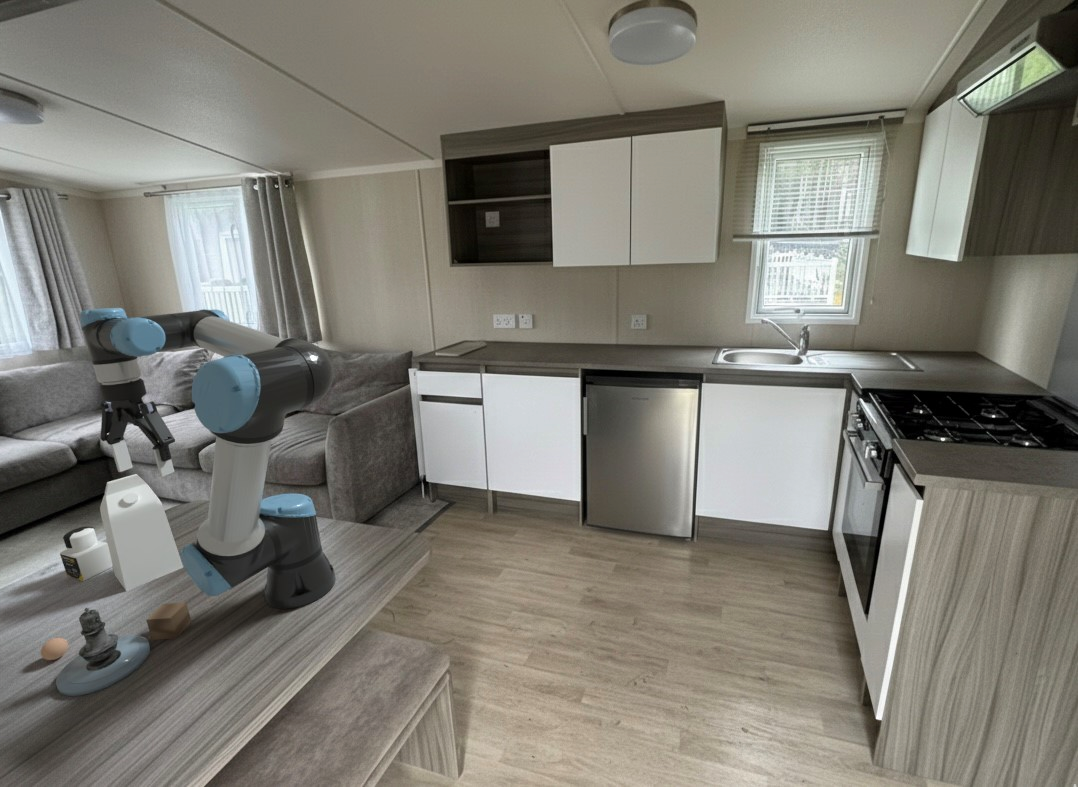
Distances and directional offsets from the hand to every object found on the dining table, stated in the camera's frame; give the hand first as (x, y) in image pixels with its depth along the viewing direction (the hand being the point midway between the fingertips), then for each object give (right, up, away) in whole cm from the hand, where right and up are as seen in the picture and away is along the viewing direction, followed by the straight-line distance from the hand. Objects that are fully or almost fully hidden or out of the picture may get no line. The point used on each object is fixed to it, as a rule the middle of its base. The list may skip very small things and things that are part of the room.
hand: (146, 472), depth 114 cm
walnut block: (+11, -33, -7) cm, 35 cm away
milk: (-12, -29, +17) cm, 35 cm away
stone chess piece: (+4, -34, -16) cm, 38 cm away
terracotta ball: (-8, -34, -13) cm, 37 cm away
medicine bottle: (-28, -29, +18) cm, 44 cm away
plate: (+4, -36, -16) cm, 39 cm away
